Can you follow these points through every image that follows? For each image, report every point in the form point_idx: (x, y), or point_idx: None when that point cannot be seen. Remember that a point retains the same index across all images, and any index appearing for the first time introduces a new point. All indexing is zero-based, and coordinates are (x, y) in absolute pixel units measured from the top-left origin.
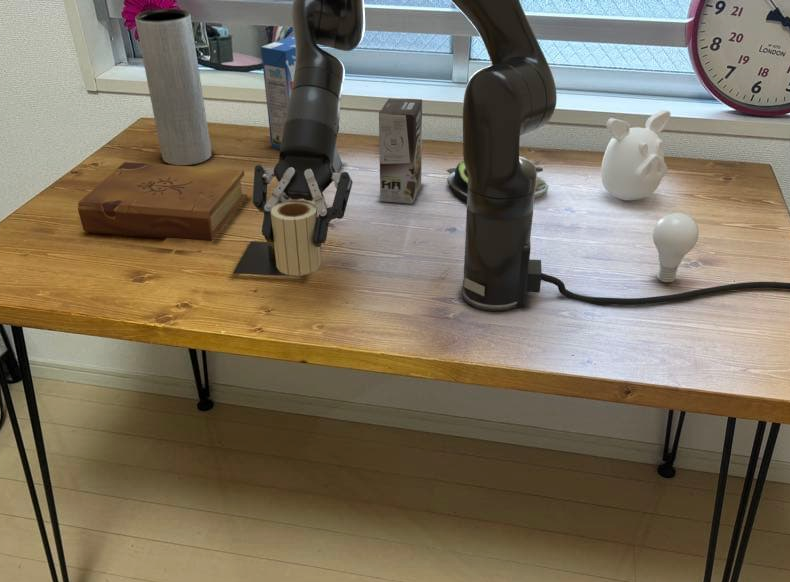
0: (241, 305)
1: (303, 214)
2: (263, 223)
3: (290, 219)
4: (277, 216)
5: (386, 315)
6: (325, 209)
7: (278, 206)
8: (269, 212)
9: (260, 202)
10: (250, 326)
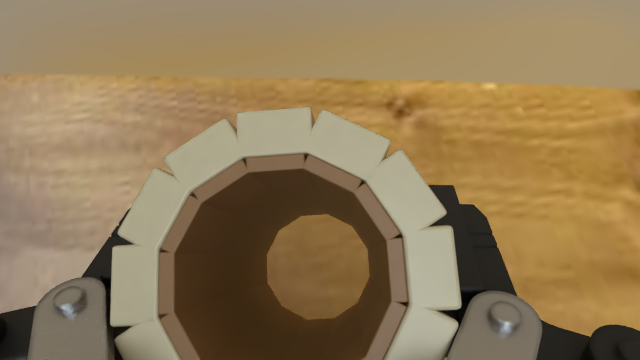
0: (495, 219)
1: (188, 208)
2: (494, 251)
3: (261, 113)
4: (367, 139)
5: (87, 234)
6: (40, 317)
7: (417, 315)
8: (478, 289)
9: (595, 353)
10: (428, 121)
